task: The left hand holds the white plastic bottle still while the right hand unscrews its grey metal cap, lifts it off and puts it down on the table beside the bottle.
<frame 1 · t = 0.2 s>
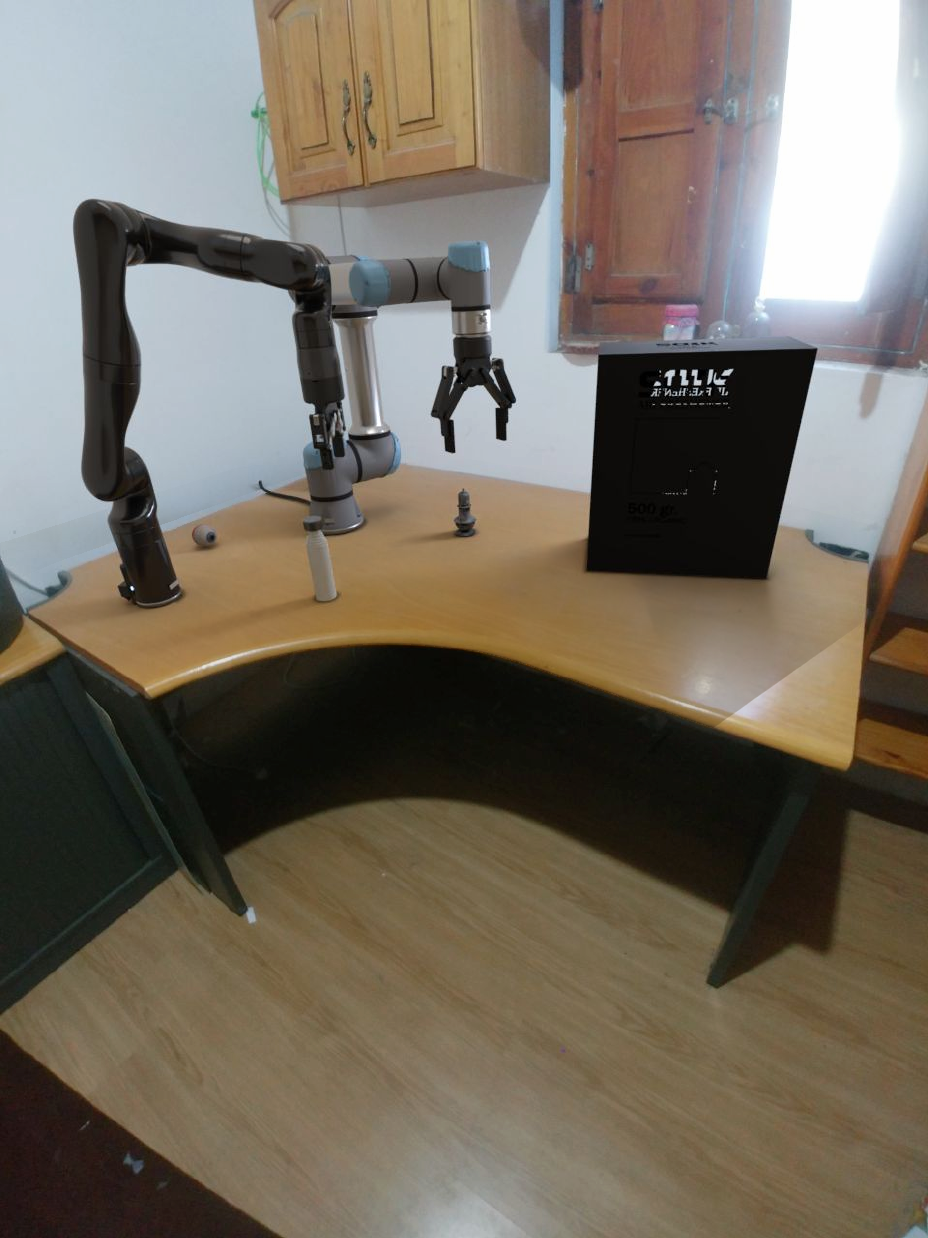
left hand: (334, 462, 117), 29 cm above the table, tool pointing down, fingers open, 8 cm apart
right hand: (476, 445, 127), 28 cm above the table, tool pointing down, fingers open, 13 cm apart
cap: (312, 520, 123), point 18 cm above the table, screwed on, not yet turned
cardboard box: (669, 556, 141), on the table
bottle: (326, 596, 132), on the table
eyeball: (208, 546, 161), on the table
salt shaker: (465, 532, 160), on the table
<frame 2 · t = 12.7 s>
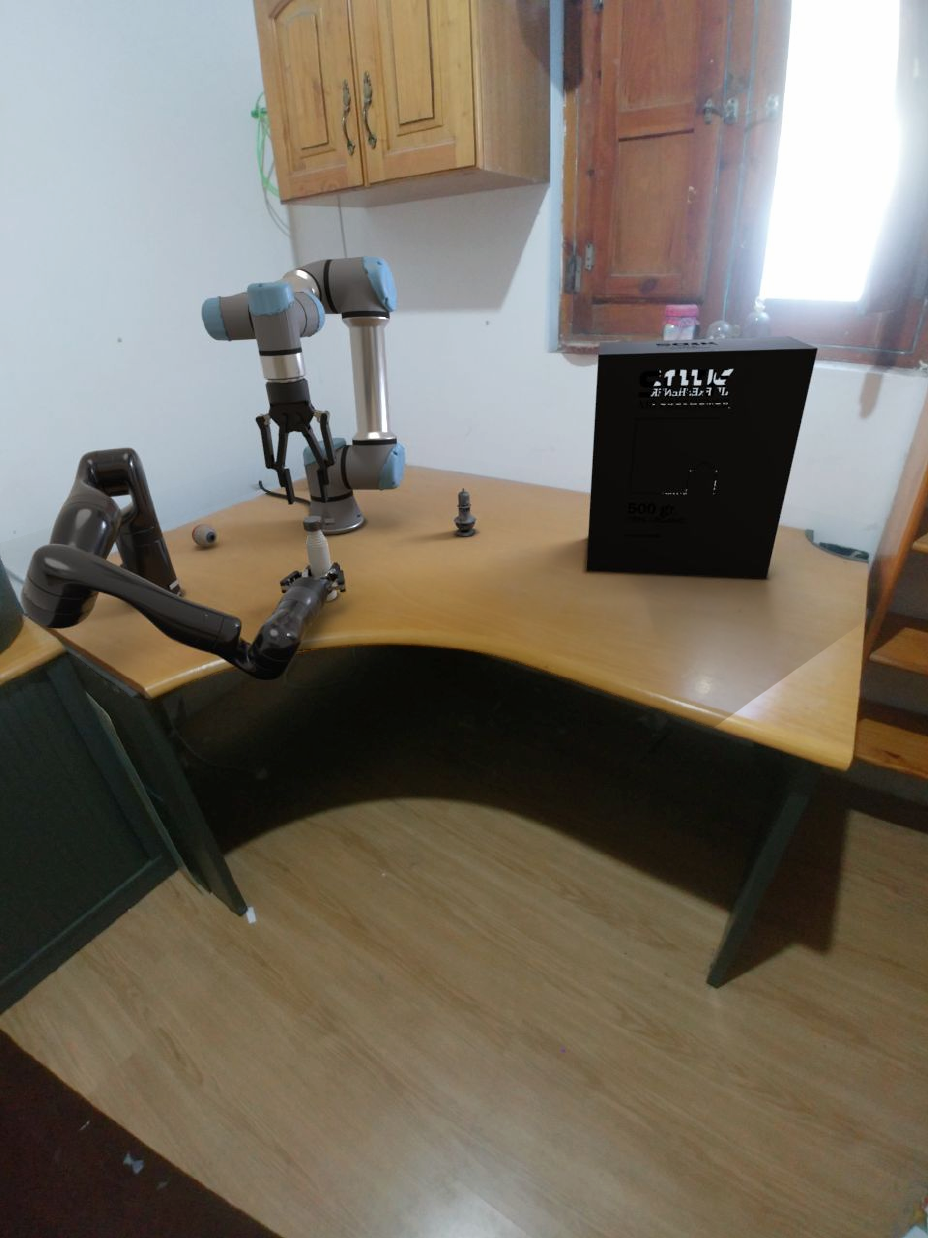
left hand: (325, 566, 131), 6 cm above the table, tool horizontal, fingers closed on bottle, 4 cm apart
right hand: (308, 501, 121), 22 cm above the table, tool pointing down, fingers open, 6 cm apart
bottle: (326, 596, 132), on the table, touching left hand
everything else where it was.
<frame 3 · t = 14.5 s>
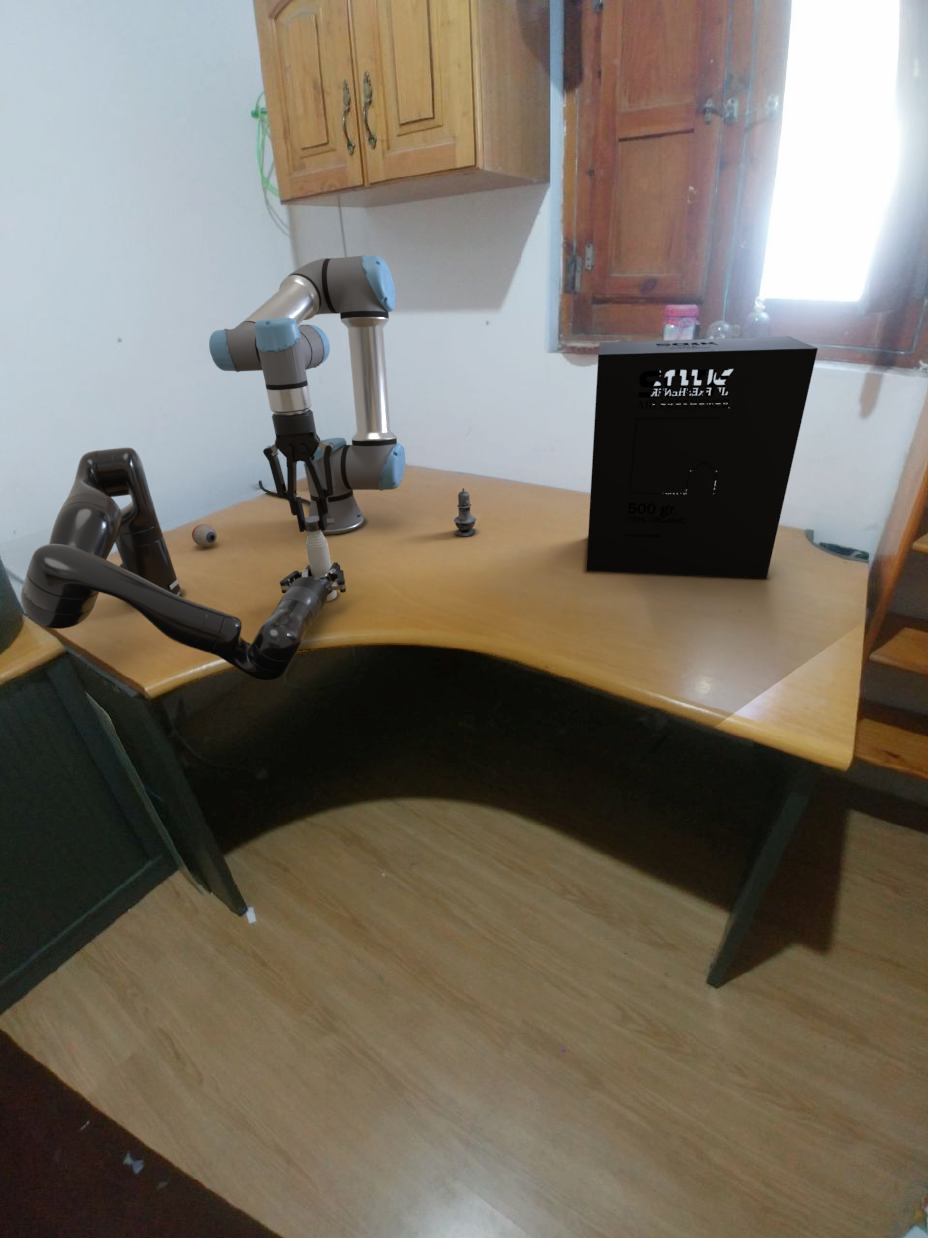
left hand: (325, 566, 131), 6 cm above the table, tool horizontal, fingers closed on bottle, 4 cm apart
right hand: (313, 528, 124), 16 cm above the table, tool pointing down, fingers closed on cap, 4 cm apart
cap: (312, 520, 123), point 18 cm above the table, screwed on, not yet turned, touching right hand
bottle: (326, 596, 132), on the table, touching left hand
everything else where it was.
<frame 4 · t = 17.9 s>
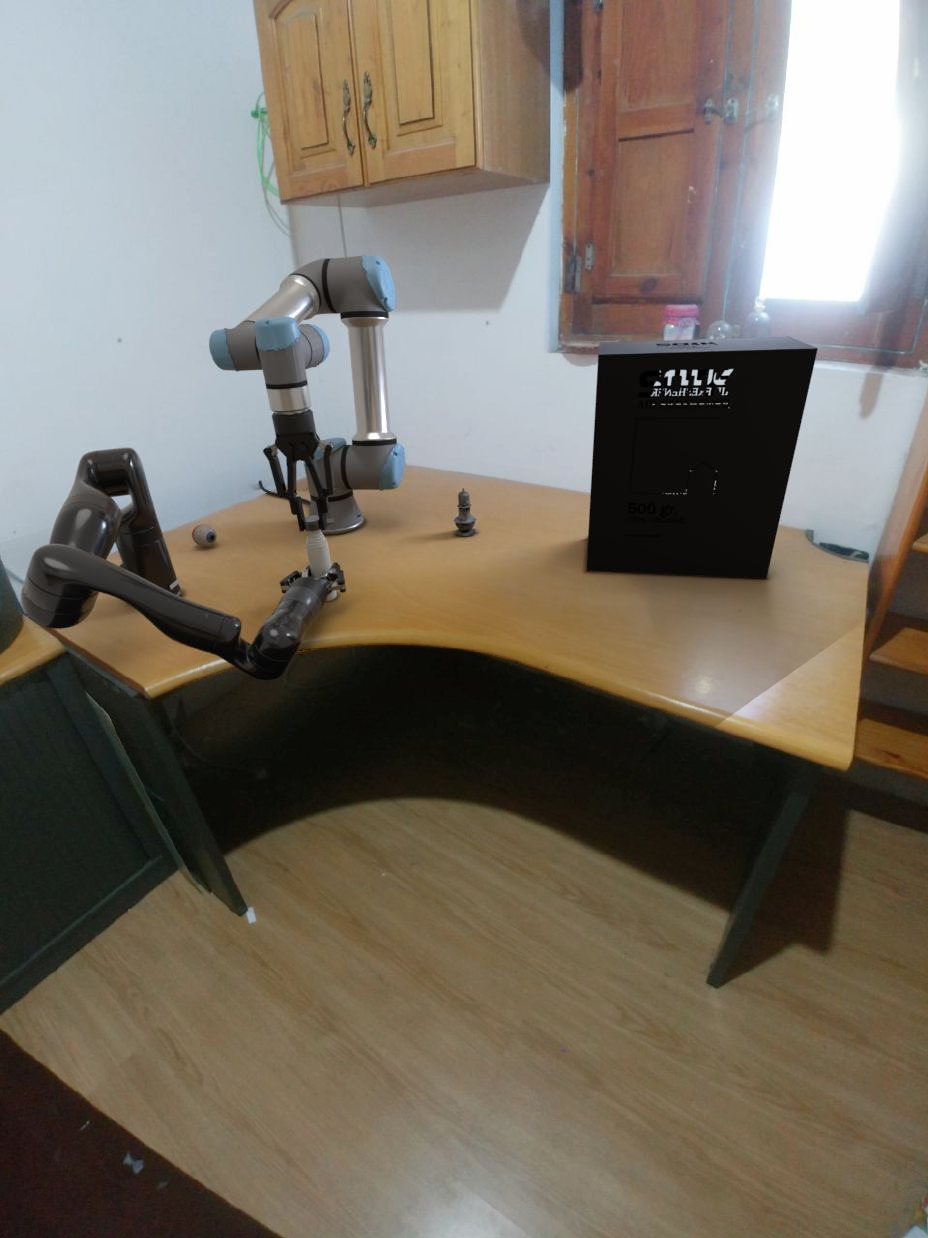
left hand: (325, 566, 131), 6 cm above the table, tool horizontal, fingers closed on bottle, 4 cm apart
right hand: (313, 528, 124), 16 cm above the table, tool pointing down, fingers closed on cap, 4 cm apart
cap: (312, 519, 123), point 18 cm above the table, turned 112° so far, risen 0.1 cm, still on its thread, touching right hand
bottle: (326, 596, 132), on the table, touching left hand
everything else where it was.
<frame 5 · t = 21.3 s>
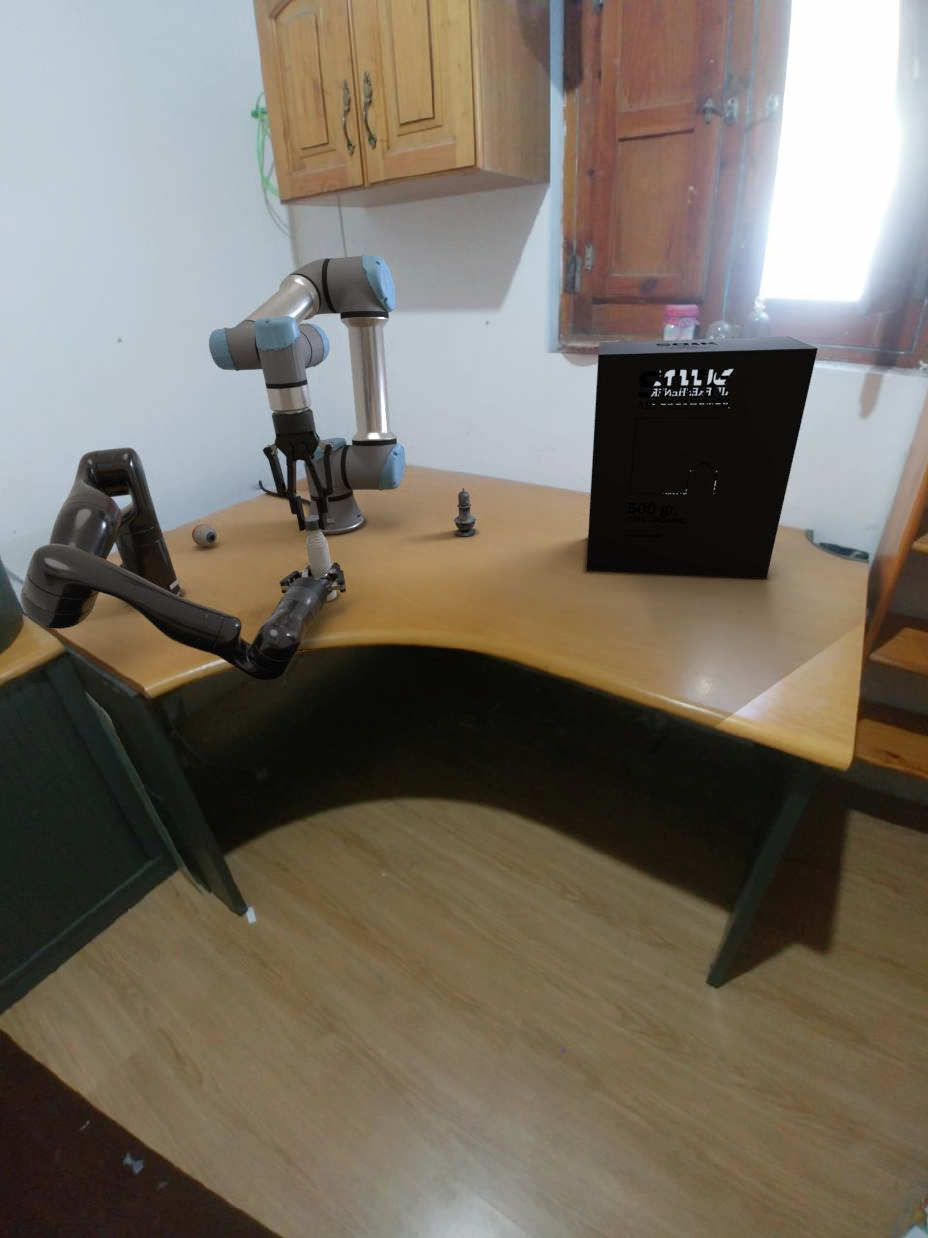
left hand: (325, 566, 131), 6 cm above the table, tool horizontal, fingers closed on bottle, 4 cm apart
right hand: (313, 527, 124), 16 cm above the table, tool pointing down, fingers closed on cap, 4 cm apart
cap: (312, 519, 123), point 18 cm above the table, turned 224° so far, risen 0.2 cm, still on its thread, touching right hand
bottle: (326, 596, 132), on the table, touching left hand
everything else where it was.
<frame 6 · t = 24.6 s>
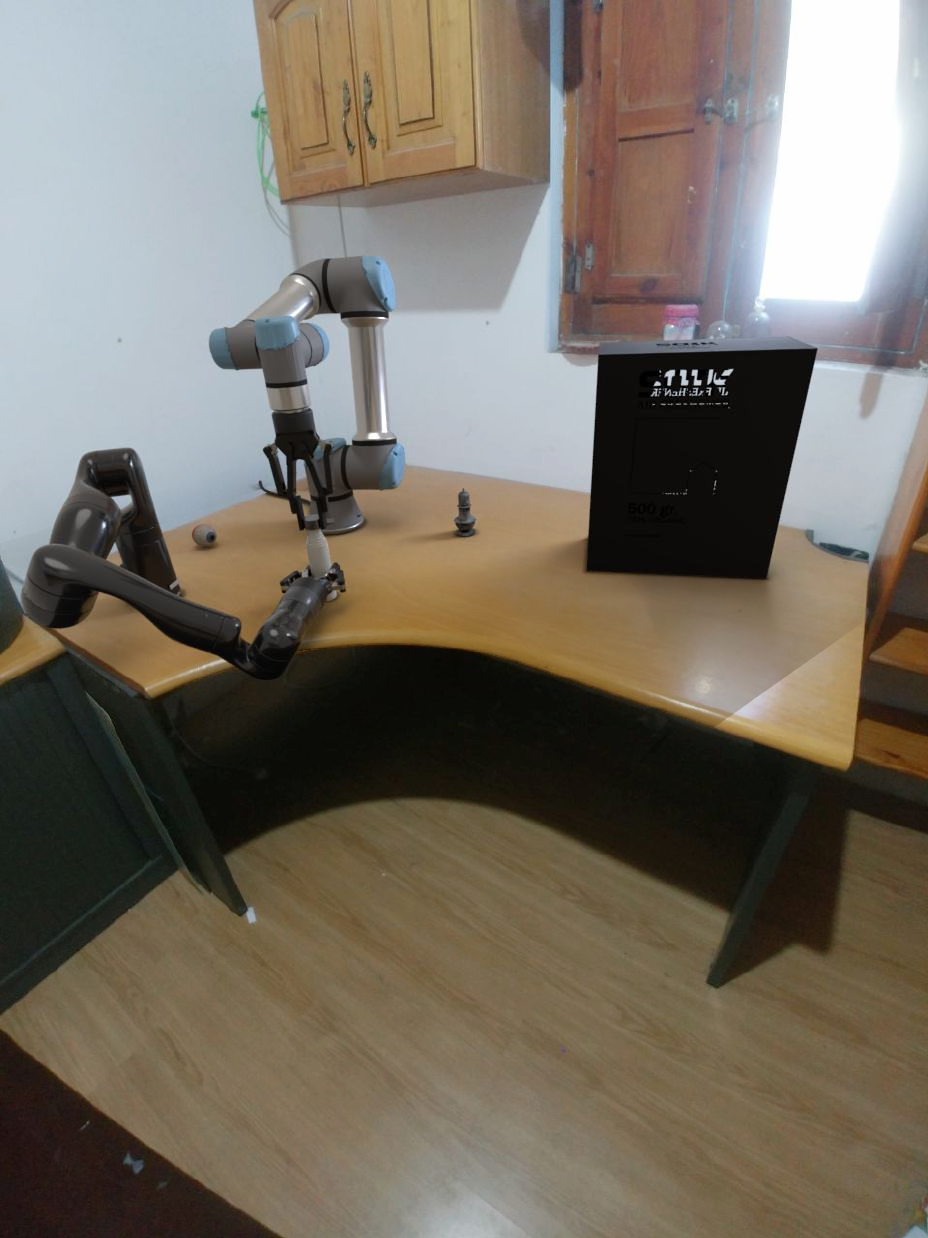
left hand: (325, 566, 131), 6 cm above the table, tool horizontal, fingers closed on bottle, 4 cm apart
right hand: (313, 527, 124), 16 cm above the table, tool pointing down, fingers closed on cap, 4 cm apart
cap: (312, 519, 123), point 18 cm above the table, turned 336° so far, risen 0.3 cm, still on its thread, touching right hand
bottle: (326, 596, 132), on the table, touching left hand
everything else where it was.
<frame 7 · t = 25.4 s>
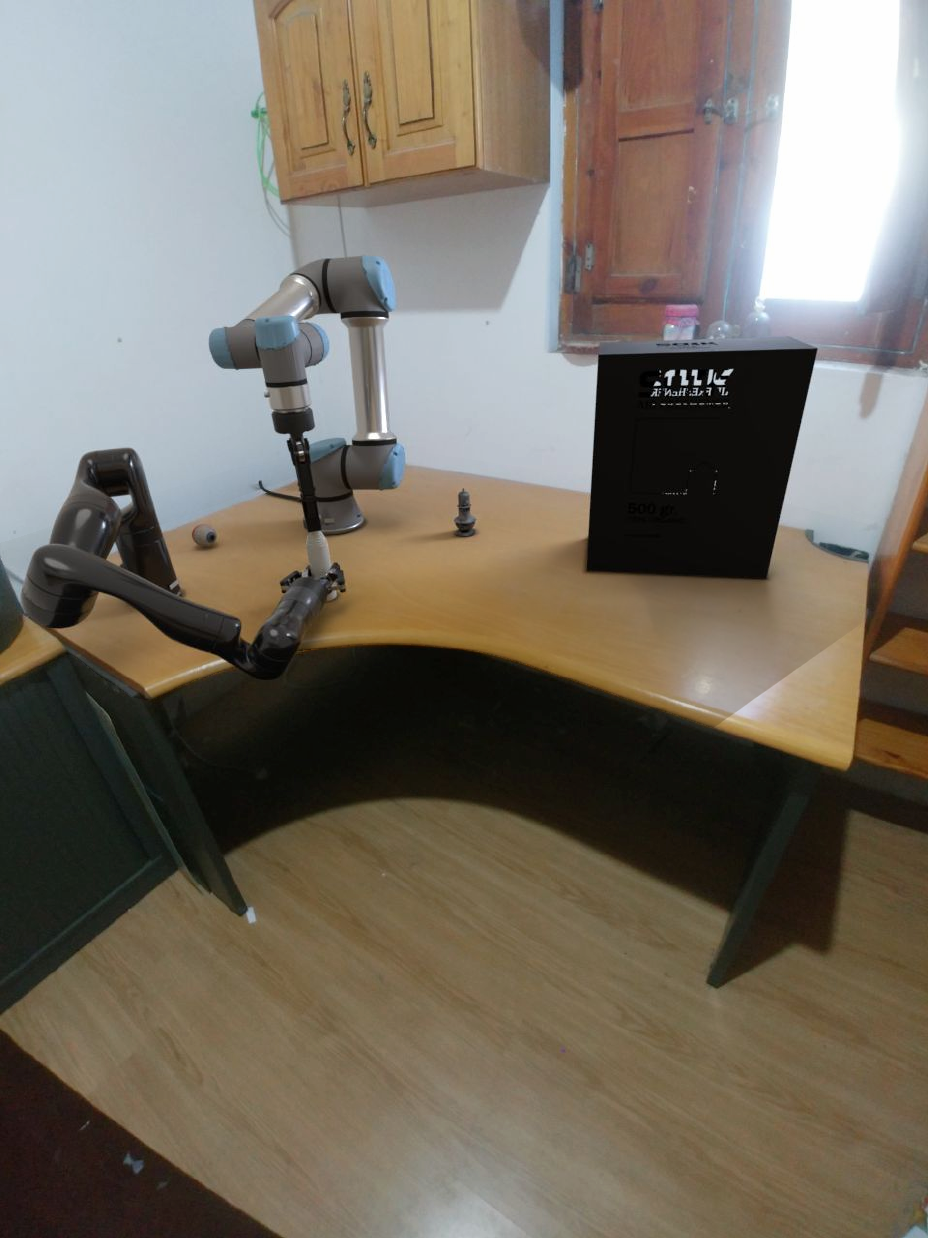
left hand: (325, 566, 131), 6 cm above the table, tool horizontal, fingers closed on bottle, 4 cm apart
right hand: (313, 526, 124), 16 cm above the table, tool pointing down, fingers closed on cap, 4 cm apart
cap: (312, 518, 123), point 18 cm above the table, off its thread, touching right hand
bottle: (326, 596, 132), on the table, touching left hand
everything else where it was.
when the right hand's fingers open (1 cm above the table, at t = 30.9 s): cap drops 1 cm, point 2 cm above the table.
when the left hand's fingers open (6 cm above the table, at t = 32.2 s): bottle stays where it is, on the table.
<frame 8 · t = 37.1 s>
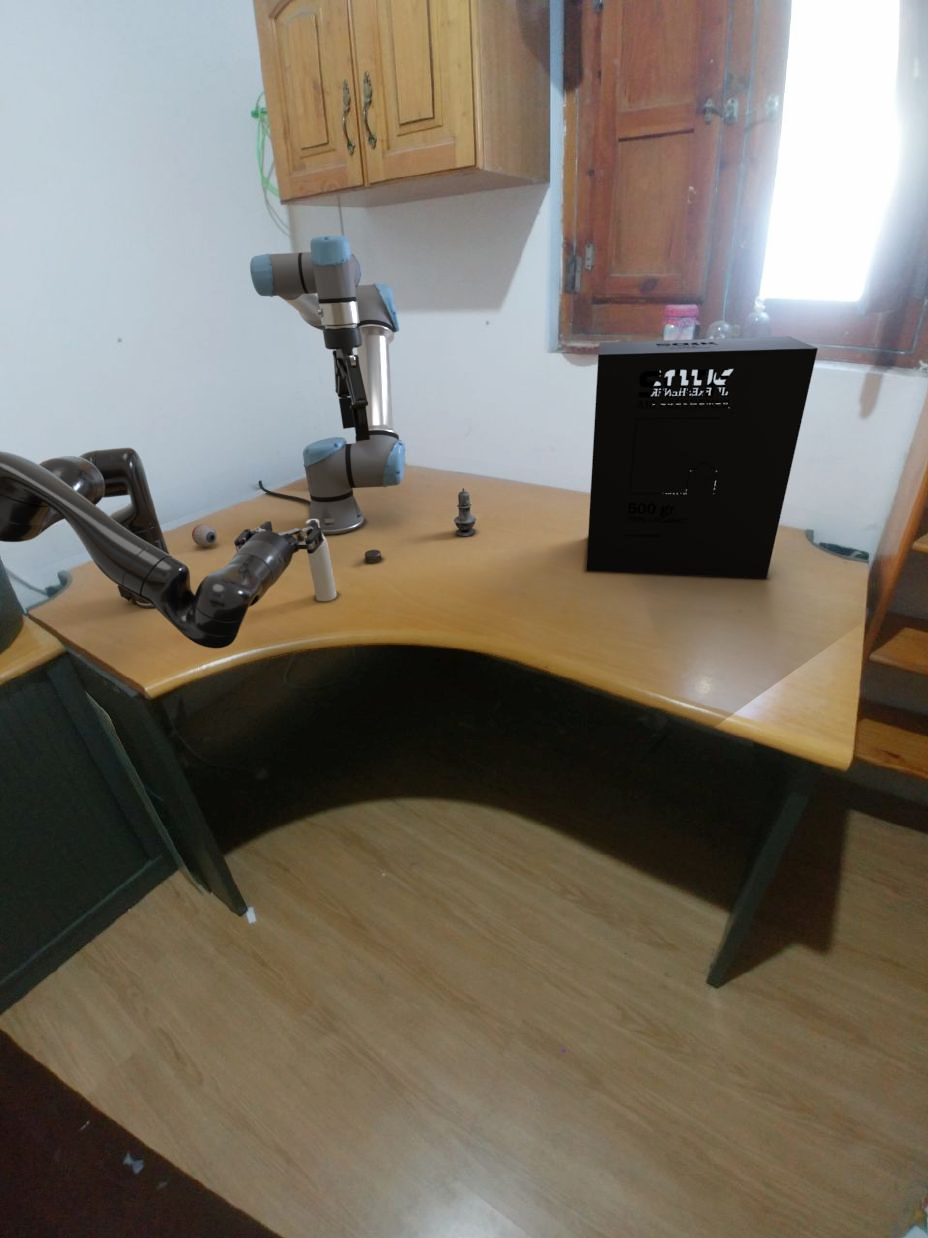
left hand: (292, 525, 112), 21 cm above the table, tool horizontal, fingers open, 8 cm apart
right hand: (356, 433, 132), 30 cm above the table, tool pointing down, fingers open, 13 cm apart
cap: (372, 553, 146), point 2 cm above the table, off its thread
bottle: (326, 596, 132), on the table
everything else where it was.
at the end: cap came off its thread; cap point 1.7 cm above the table; the left hand is holding nothing; the right hand is holding nothing; bottle tilted 0°; bottle moved 0.0 cm from its start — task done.
